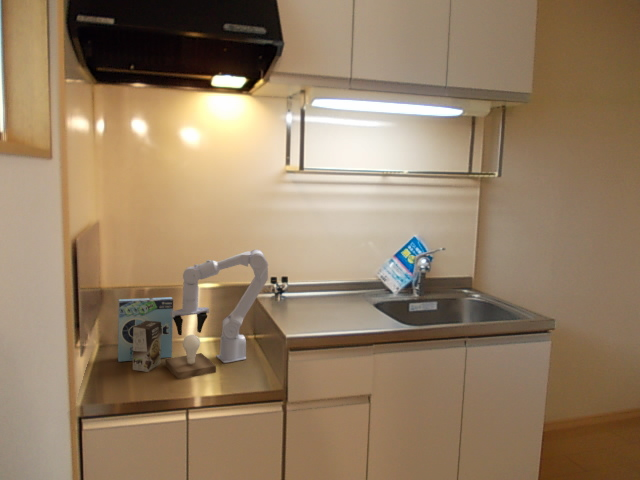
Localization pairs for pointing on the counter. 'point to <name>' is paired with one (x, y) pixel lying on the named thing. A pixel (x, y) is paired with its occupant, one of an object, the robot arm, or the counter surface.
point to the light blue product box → (137, 313)
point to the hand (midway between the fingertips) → (189, 333)
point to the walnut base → (190, 366)
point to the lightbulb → (191, 347)
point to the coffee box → (146, 346)
